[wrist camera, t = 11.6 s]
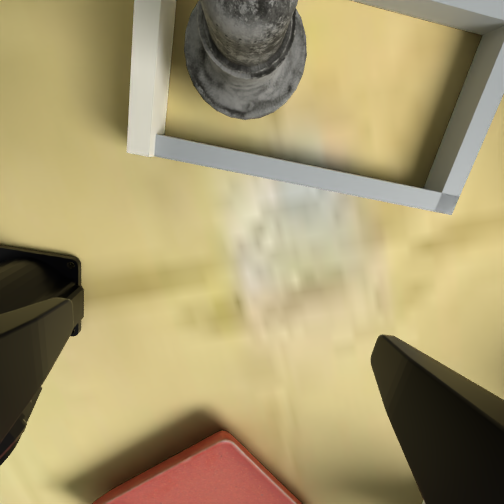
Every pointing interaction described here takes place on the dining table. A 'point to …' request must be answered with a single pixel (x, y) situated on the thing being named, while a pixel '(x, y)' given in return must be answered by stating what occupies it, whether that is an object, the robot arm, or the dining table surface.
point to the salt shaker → (245, 54)
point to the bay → (428, 198)
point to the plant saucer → (204, 478)
